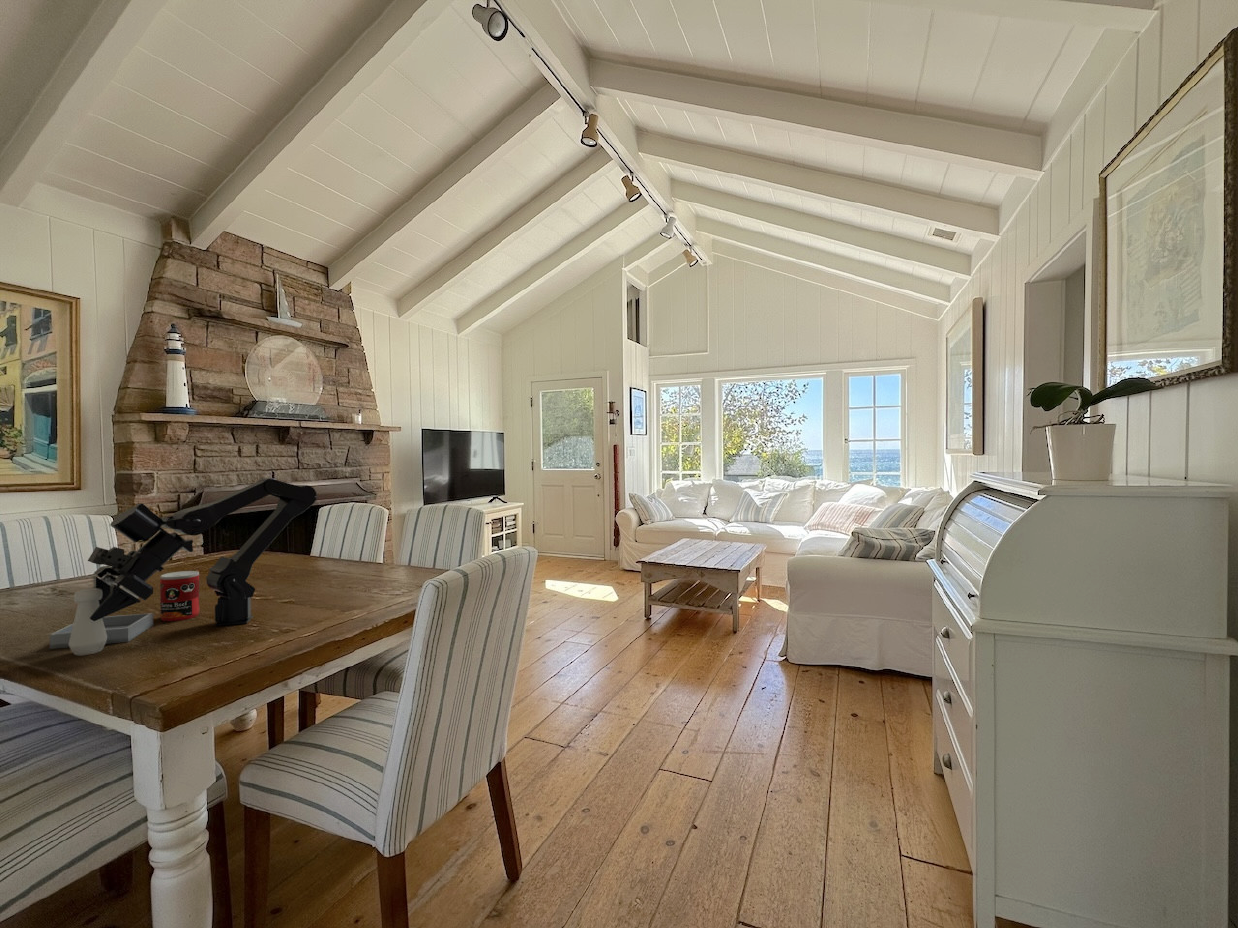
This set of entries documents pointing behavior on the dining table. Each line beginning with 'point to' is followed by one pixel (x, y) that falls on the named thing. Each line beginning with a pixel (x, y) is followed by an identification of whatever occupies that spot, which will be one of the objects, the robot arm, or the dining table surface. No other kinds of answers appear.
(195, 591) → the canned food
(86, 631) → the salt shaker
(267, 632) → the dining table surface
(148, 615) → the tray
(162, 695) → the dining table surface
